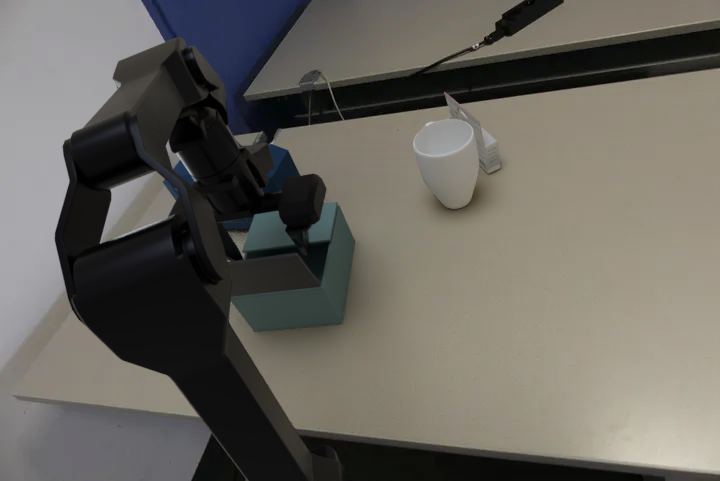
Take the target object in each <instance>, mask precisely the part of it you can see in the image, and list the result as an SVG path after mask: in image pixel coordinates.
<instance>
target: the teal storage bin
mask: <svg viewBox="0 0 720 481" xmlns="http://www.w3.org/2000/svg"><path fill="white" fill-rule="evenodd" d="M286 226H287V225H285V224H283V222H282V221H281V219H280V217H279V211H274V212H267V213H261V214H255V215H254V218H253V221H252V224H251V227H250V229H248V232H247V236H246V238H245V242H244V245H243V248H242V250H241V253H243V254H244V255H243V260H245V259H252V258H260V257H268V256H275V255H283V254H290V253H297V254H298V255H299V256H300V257H301V259H302V260H303V261H304V263H305V264H306V265H307V267H308V268H309V269H310V271H311V272H312V273H313V275H315V277H316V278H317V280H318V281H319V282H320V284H321V287H316V288H307V289H298V290H289V291H279V292H270V293H261V294H252V295H243V296H234V297H231V304H232V305H233V306H234V307H235V309H236V310H237V311H238V313H239V314H240V315H241V316H242V318H243V319H244V321H245V322H246V323H247V324H248V325H249V327H250V329H251V330H252V331H253V332H255V333H256V332H267V331H277V330H279V331H280V330H289V329H299V328H300V329H301V328H311V327H312V328H313V327H322V326H334V325H335V326H336V325H342V324H343V322H344V316H345V310H346V303H347V296H348V290H349V284H350V283H349V282H350V278H351V277H350V276H351V270H352V263H353V258H354V250H355V244H356V240H355V238H354V236H353V233H352V231H351V228H350V226H349V224H348V221H347V220H346V217H345V215H344V212H343V210H342V208H341V206H340V205H339V203H338V201H331V202H324V203H323V208H322V213H321V217H320V220H319V221H318V222H317V223H315V224H313V225H312V226H311V228H310V229H308V231H309V247H310V250H309V255H307V256H305V255H304V254H303V253H302V252H301V251H300V250H299V249H298V247H297V246H296V245H295V243H294V242H293V241H292V239H291V238H290V237H289V235H288V234H287V233H286V231H285V229H286Z"/></svg>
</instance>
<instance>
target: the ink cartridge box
mask: <svg viewBox="0 0 720 481" xmlns="http://www.w3.org/2000/svg"><path fill="white" fill-rule="evenodd" d="M443 93H444V97H445V100H446V103H447V107H448V110H449V113H450V119H458V120H462V121H465V122H467V123H468V124H470V125H471V127H472V128H473V130H474V133H475V138H476V144H477V150H478V156H479V167H480V168H482V169H483V170H484V171H485V172H486V173H487V175H490V174H491V173H493V172H495V171H498V170H500V169H501V159H500V150H499V142H498V140H496V139H495V138H494V137H493V135H492V134H490V133H489V132H487V131H486V130H485V129H484V128H483V127H482V126H481V121H480V120H479V119H477V117H475V115H473V114H472V113H470V112H469V111H468V110H467V109H466V108H465V107H464V106H462V105H461V104H460V103H459V102H457V101H456V99H455V98H453V97H452V96H451V95H449V94H448V93H447V92H446V91H444V92H443ZM460 110H461V111H460Z"/></svg>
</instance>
